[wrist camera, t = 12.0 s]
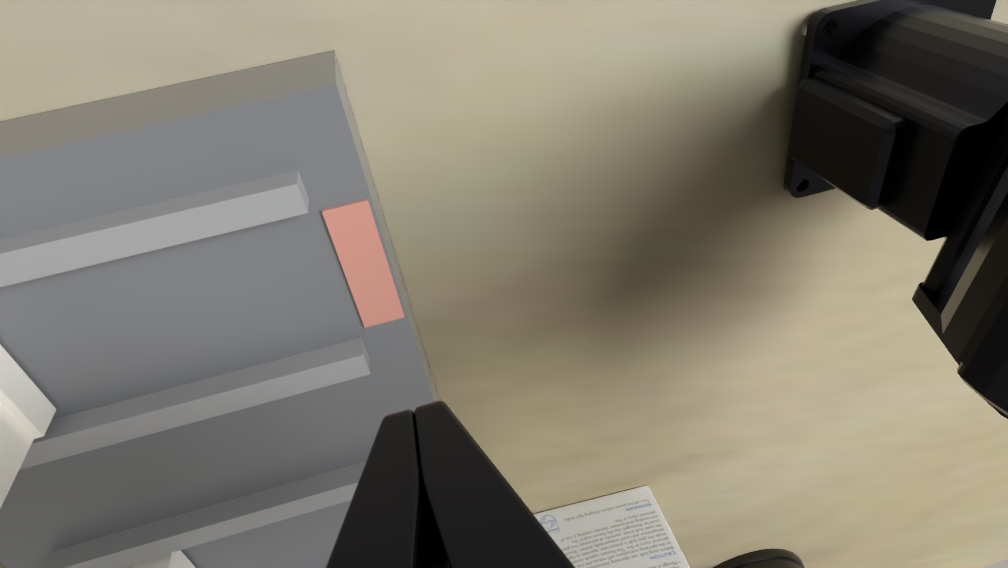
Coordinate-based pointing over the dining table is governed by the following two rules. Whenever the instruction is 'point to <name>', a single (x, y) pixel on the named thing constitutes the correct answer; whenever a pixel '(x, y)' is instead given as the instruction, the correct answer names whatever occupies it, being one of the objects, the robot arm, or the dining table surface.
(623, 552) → the light bulb box
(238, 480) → the breaker panel
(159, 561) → the tall cream cuboid
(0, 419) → the white block
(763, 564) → the french press
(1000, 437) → the dining table surface
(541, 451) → the dining table surface
